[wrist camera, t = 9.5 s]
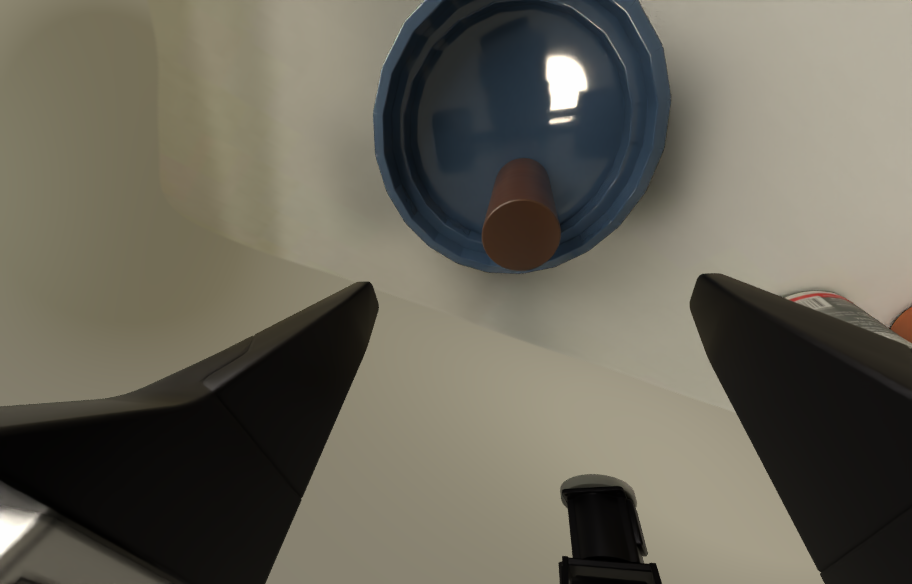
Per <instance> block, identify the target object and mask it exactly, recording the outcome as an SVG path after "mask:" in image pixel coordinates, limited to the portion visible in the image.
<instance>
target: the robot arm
mask: <svg viewBox="0 0 912 584" xmlns="http://www.w3.org/2000/svg"><path fill="white" fill-rule="evenodd" d="M378 308H379V305H378V301H377V298H376V294H375V291H374V288H373V286H372V284H371V283H370V282H356V283H354V284H352V285H350V286H348V287H346V288H344V289H343V290H341V291H339V292H337V293H335V294H333V295H331V296H329V297H327V298H325V299H323V300H321V301H319V302H317V303H316V304H313V305H311V306H309V307H307V308H306V309H304V310H302V311H300V312H298V313H296V314H294V315H292V316H290V317H288V318H286V319H284V320H282V321H280V322H278V323H276V324H274V325H272V326H271V327H269V328H267V329H265V330H263V331H261V332H259V333H257V334H255V335H254V336H251V337H249V338H247V339H245V340H243V341H241V342H239V343H237V344H235V345H233V346H231V347H229V348H227V349H225V350H223V351H221V352H219V353H217V354H215V355H213V356H211V357H208V358H206V359H204V360H202V361H200V362H198V363H196V364H194V365H192V366H189V367H187V368H185V369H183V370H181V371H178V372H176V373H174V374H172V375H170V376H167V377H165V378H163V379H161V380H159V381H157V382H154V383H152V384H150V385H148V386H146V387H143V388H141V389H138V390H136V391H134V392H131V393H127V394H124V395H120V396H116V397H111V398H105V399H96V400H83V401H71V402H56V403H42V404H29V405H16V406H1V407H0V584H265V583H266V581H267V578H268V576H269V574H270V571H271V569H272V567H273V564H274V562H275V560H276V558H277V555H278V553H279V550H280V548H281V546H282V544H283V541H284V539H285V537H286V534H287V532H288V530H289V528H290V525H291V523H292V520H293V518H294V516H295V514H296V511H297V509H298V507H299V505H300V502H301V498H302V497H303V495H304V492H305V490H306V488H307V485H308V483H309V481H310V479H311V476H312V474H313V471H314V470H315V467H316V465H317V463H318V460H319V458H320V456H321V453H322V451H323V449H324V446H325V444H326V442H327V440H328V437H329V435H330V432H331V430H332V428H333V426H334V423H335V421H336V419H337V417H338V414H339V412H340V409H341V407H342V405H343V403H344V400H345V398H346V395H347V393H348V391H349V389H350V387H351V384H352V382H353V380H354V377H355V375H356V373H357V370H358V368H359V366H360V363H361V361H362V359H363V356H364V354H365V351H366V349H367V346H368V343H369V340H370V336H371V333H372V330H373V326H374V323H375V320H376V317H377V313H378ZM690 310H691V313H692V316H693V319H694V321H695V324H696V327H697V330H698V332H699V335H700V338H701V341H702V343H703V346H704V349H705V352H706V354H707V357H708V359H709V361H710V363H711V365H712V367H713V369H714V371H715V373H716V375H717V377H718V379H719V381H720V383H721V385H722V386H723V388H724V390H725V392H726V394H727V396H728V398H729V400H730V402H731V404H732V406H733V408H734V410H735V411H736V413H737V415H738V417H739V419H740V421H741V423H742V425H743V427H744V429H745V431H746V433H747V435H748V436H749V438H750V440H751V442H752V444H753V446H754V448H755V450H756V452H757V454H758V456H759V457H760V459H761V461H762V463H763V465H764V467H765V469H766V471H767V473H768V475H769V477H770V479H771V480H772V482H773V484H774V486H775V488H776V490H777V492H778V494H779V496H780V498H781V500H782V502H783V504H784V506H785V507H786V509H787V511H788V513H789V515H790V517H791V519H792V521H793V523H794V525H795V527H796V528H797V531H798V532H799V534H800V536H801V538H802V540H803V542H804V544H805V546H806V548H807V550H808V552H809V554H810V555H811V557H812V559H813V561H814V563H815V565H816V567H817V569H818V570H819V571H820V572H821V573H820V575H821V577H822V579H823V581H824V583H825V584H912V348H909V346H908V345H906V344H903V343H900V342H898V341H895V340H893V339H890V338H887V337H885V336H882V335H880V334H877V333H874V332H872V331H869V330H867V329H864V328H861V327H859V326H856V325H853V324H851V323H848V322H846V321H843V320H840V319H838V318H835V317H833V316H830V315H827V314H825V313H822V312H820V311H817V310H814V309H812V308H809V307H807V306H804V305H801V304H799V303H796V302H794V301H791V300H788V299H786V298H783V297H781V296H778V295H775V294H773V293H770V292H767V291H765V290H762V289H760V288H757V287H754V286H752V285H749V284H747V283H744V282H741V281H739V280H736V279H734V278H731V277H728V276H726V275H723V274H719V273H711V274H701V275H700V276H699V277H698V278H697V281H696V284H695V287H694V290H693V293H692V296H691V299H690ZM562 496H563V497H564V499H565V500H566V502H567V505H568V514H569V525H570V535H571V544H572V555H573V558H568V557H567V556H562V562H559V577H560V584H662V582H661V579H660V576H659V572H658V569H657V566H656V563H650V564H644V561H643V557H642V556H647V554H648V552H647V548H646V545H645V540H644V537H643V533H642V529H641V525H640V521H639V517H638V513H637V511H636V508H635V506H634V504H633V502H632V501H631V500H630V499H628V498H627V496H626V494H625V492H624V489H623V488H622V487H621V486H607V487H590V488H573V489H563V490H562Z"/></svg>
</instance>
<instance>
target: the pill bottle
mask: <svg viewBox="0 0 912 584" xmlns="http://www.w3.org/2000/svg"><path fill="white" fill-rule="evenodd" d="M785 298H786V299H788V300H791V301H794V302H796V303H799V304H801V305H804V306H807V307H809V308H812V309H814V310H817V311H820V312H822V313H825V314H827V315H830V316H833V317H835V318H838V319H840V320H843V321H846V322H848V323H851V324H853V325H856V326H859V327H861V328H864V329H867V330H869V331H872V332H874V333H877V334H880V335H882V336H885V337H887V338H890V339H893V340H895V341H898V342H900V343H903V344H906V345H908V346H909V348H912V343H910V342H908V341H907V340H905V339H904V338H902V337H901V336H899V335H898V334H896V333H895V332H894V331H892V330H891V329H889V328H888V327H886V326H885V325H883V324H882V323H881V322H879V321H878V320H876V319H875V318H873V317H872V316H871V315H869V314H868V313H866V312H865V311H863V310H862V309H861V308H859V307H858V306H856V305H855V304H854V303H852V302H851V301H849V300H847V299H846V298H844V297H842V296H840V295H837V294H835V293H831V292H825V291H808V292H801V293H797V294H793V295H790V296H788V297H785Z"/></svg>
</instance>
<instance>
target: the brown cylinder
mask: <svg viewBox="0 0 912 584" xmlns="http://www.w3.org/2000/svg"><path fill="white" fill-rule="evenodd" d="M560 238H561V229H560V224H559V219H558V215H557V211H556V207H555V202H554V198H553V194H552V190H551V186H550V181H549V177H548V174H547V172H546V170H545V168H544V167H543V166H542V165H541V164H540V163H538V162H537V161H535V160H533V159H529V158H518V159H515V160H512V161H510V162H508V163H507V164H506V165H504V166H503V167H502V168H501V170H500V171H499V173H498V175H497V177H496V180H495V184H494V187H493V191H492V195H491V198H490V202H489V206H488V210H487V213H486V217H485V221H484V225H483V228H482V243H483V247H484V249H485V251H486V253H487V255H488V256H489V257H490V258H491V259H492V260H493V261H494V262H495V263H496V264H498V265H499V266H501V267H503V268H506V269H509V270H514V271H526V270H531V269H534V268H537V267H539V266H541V265H543V264H544V263H546V262H547V261H548V260H549V259H550V258H551V257H552V256H553V255H554V253H555V252H556V250H557V248H558V246H559V243H560Z"/></svg>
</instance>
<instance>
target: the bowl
mask: <svg viewBox="0 0 912 584" xmlns="http://www.w3.org/2000/svg"><path fill="white" fill-rule="evenodd" d="M670 105H671V91H670V85H669V79H668V73H667V66H666V60H665V54H664V48H663V47H662V43H661V41H660V39H659V37H658V35H657V34H656V32H655V30H654V28H653V26H652V24H651V23H650V21H649V19H648V17H647V15H646V13H645V12H644V10H643V8H642V6H641V4H640V2H639V0H424V1H423V2H422V3H421V4H420V5H419V6H418V7H417V8H416V10H415V11H414V12H413V13H412V14H411V15H410V16H409V17H408V18H407V19H406V21H405V22H404V24H403V26H402V28H401V30H400V32H399V34H398V36H397V38H396V40H395V42H394V44H393V46H392V48H391V50H390V52H389V54H388V56H387V58H386V60H385V62H384V64H383V67H382V70H381V75H380V80H379V85H378V90H377V95H376V100H375V105H374V110H373V112H374V113H373V123H374V141H375V155H376V159H377V162H378V165H379V169H380V172H381V175H382V178H383V182H384V185H385V188H386V191H387V193H388V195H389V197H390V198H391V200H392V202H393V203H394V205H395V207H396V208H397V210H398V212H399V213H400V215H401V217H402V218H403V220H404V222H405V223H406V224H407V225H408V226H409V227H410V228H411V229H412V230H413V231H414V232H415V233H416V234H417V235H418V236H419V237H420V238H421V239H422V240H423V241H424V242H425V243H426V244H427V245H428V246H430V248H432V249H434V250H435V251H437V252H439V253H440V254H442V255H444V256H446V257H447V258H449V259H451V260H452V261H454V262H456V263H458V264H461V265H464V266H467V267H471V268H474V269H478V270H481V271H484V272H489V273H510V274H523V273H528V272H533V271H538V270H543V269H548V268H553V267H554V266H555V267H556V266H558V265H560V264H563V263H565V262H567V261H569V260H571V259H573V258H575V257H577V256H580V255H582V254H584V253H586V252H588V251H589V250H591V249H592V248H593V247H594V246H596V245H597V244H598V243H599V242H601V241H602V240H603V239H604V238H606V237H607V236H608V235H609V234H611V233H612V232H613V231H614V230H615V229H617V228H618V227H619V226H620V225H621V224H622V222H623V221H624V220H625V218H626V217H627V216H628V214H629V213H630V212H631V211H632V209H633V208H634V207H635V205H636V204H637V203H638V201H639V200H640V199H641V197H642V196H643V195H644V194H645V191H646V190H647V188H648V186H649V183H650V181H651V179H652V176H653V174H654V172H655V169H656V167H657V165H658V162H659V160H660V158H661V155H662V153H663V151H664V149H663V148H664V147H665V141H666V134H667V127H668V120H669V112H670ZM518 158H529V159H533V160H535V161H537V162H538V163H540V164H541V165H542V166H543V167H544V168H545V170H546V172H547V174H548V177H549V181H550V186H551V190H552V194H553V198H554V202H555V207H556V211H557V215H558V219H559V224H560V229H561V238H560V243H559V246H558V248H557V250H556V252H555V253H554V255H553V256H552V257H551V258H550V259H549V260H548V261H547V262H546V263H544V264H543V265H541V266H539V267H537V268H534V269H531V270H526V271H514V270H509V269H506V268H503V267H501V266H499V265H498V264H496V263H495V262H494V261H493V260H492V259H491V258H490V257H489V256H488V255H487V253H486V251H485V249H484V247H483V243H482V228H483V225H484V221H485V217H486V213H487V210H488V206H489V202H490V198H491V195H492V191H493V187H494V184H495V180H496V177H497V175H498V173H499V171H500V170H501V168H502V167H503V166H504V165H506V164H507V163H508V162H510V161H512V160H515V159H518Z"/></svg>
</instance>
